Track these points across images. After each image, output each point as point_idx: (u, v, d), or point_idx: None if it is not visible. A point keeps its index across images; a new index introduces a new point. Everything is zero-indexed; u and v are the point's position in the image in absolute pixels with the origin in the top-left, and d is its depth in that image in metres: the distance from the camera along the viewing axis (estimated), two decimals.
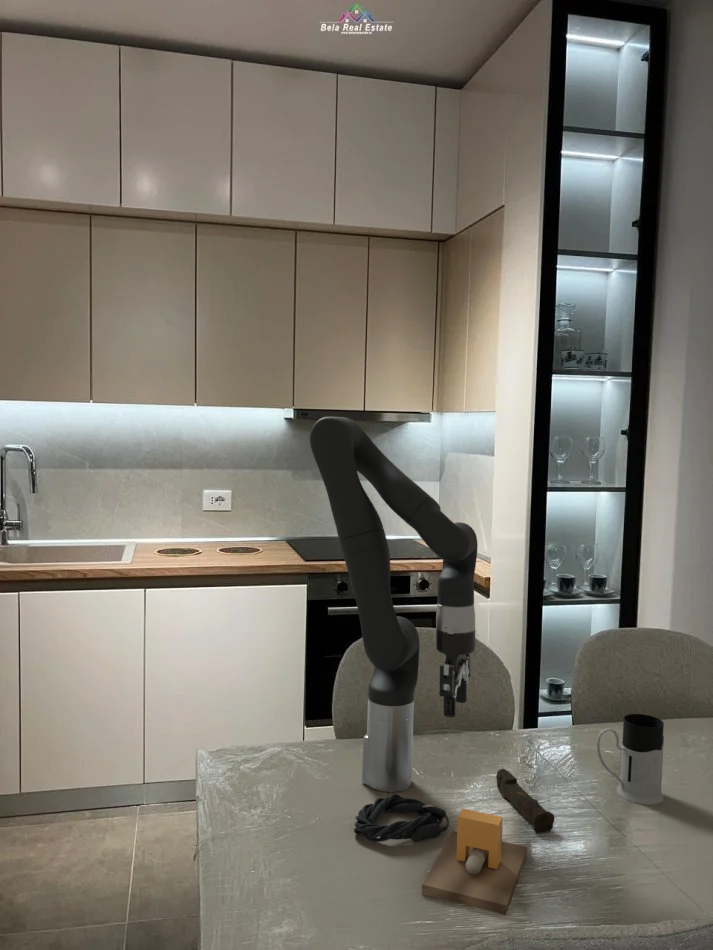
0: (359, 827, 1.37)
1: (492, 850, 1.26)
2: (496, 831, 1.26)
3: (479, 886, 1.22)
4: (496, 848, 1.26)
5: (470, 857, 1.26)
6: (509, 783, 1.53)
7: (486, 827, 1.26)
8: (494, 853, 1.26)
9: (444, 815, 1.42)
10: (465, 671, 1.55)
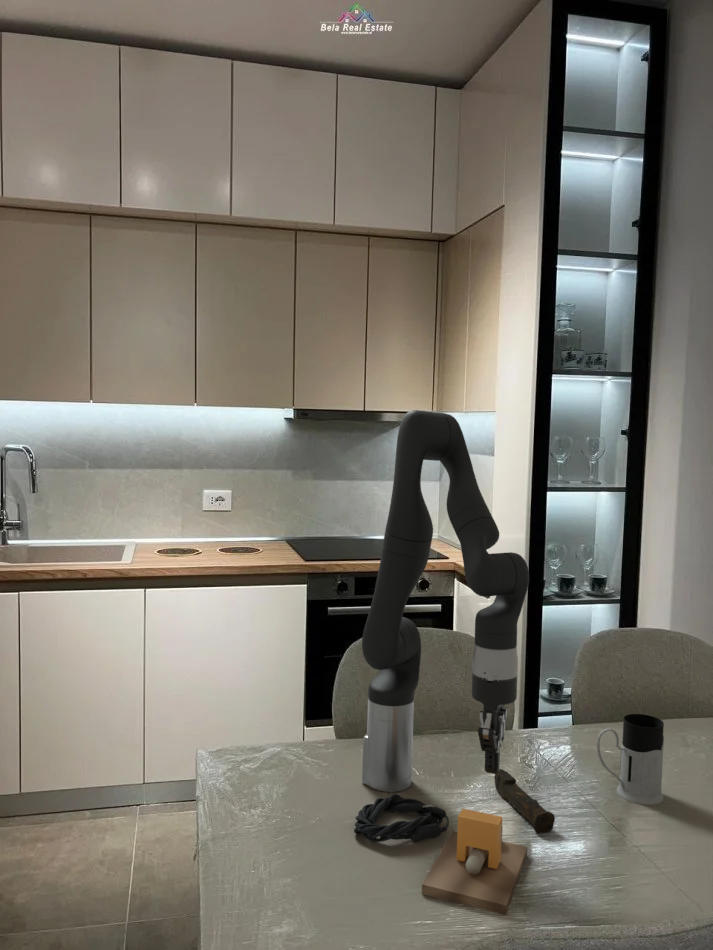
0: (359, 827, 1.37)
1: (492, 850, 1.26)
2: (496, 831, 1.26)
3: (479, 886, 1.22)
4: (496, 848, 1.26)
5: (470, 857, 1.26)
6: (508, 784, 1.53)
7: (486, 827, 1.26)
8: (494, 853, 1.26)
9: (444, 815, 1.42)
10: (502, 724, 1.34)
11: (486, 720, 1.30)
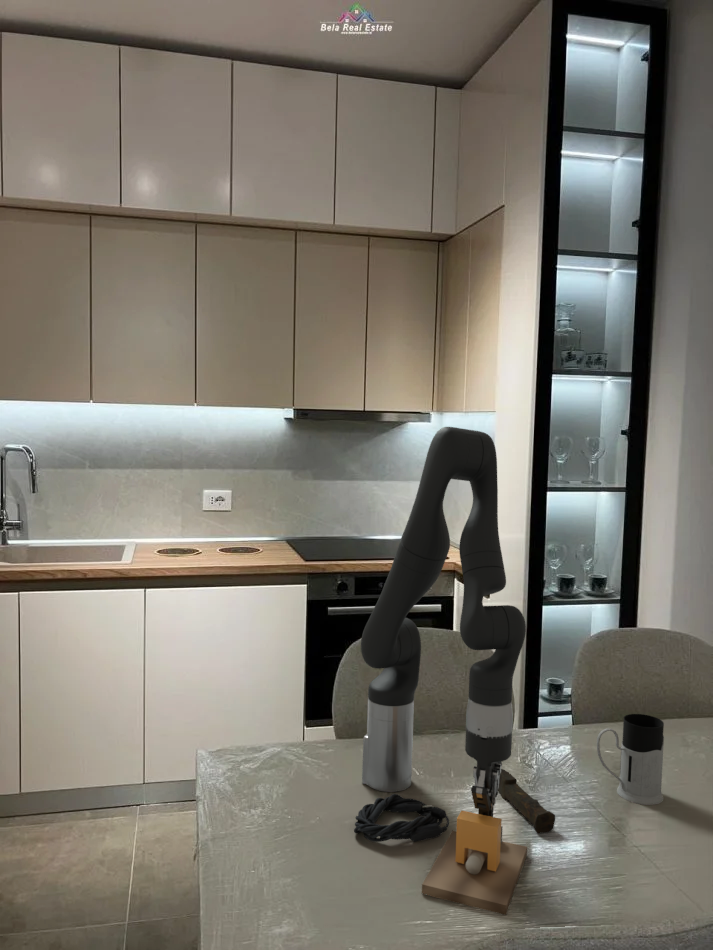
0: (359, 827, 1.37)
1: (491, 852, 1.26)
2: (495, 833, 1.25)
3: (479, 886, 1.22)
4: (495, 850, 1.25)
5: (470, 857, 1.26)
6: (509, 784, 1.53)
7: (485, 829, 1.26)
8: (493, 855, 1.25)
9: (444, 815, 1.42)
10: (496, 780, 1.31)
11: (480, 778, 1.27)
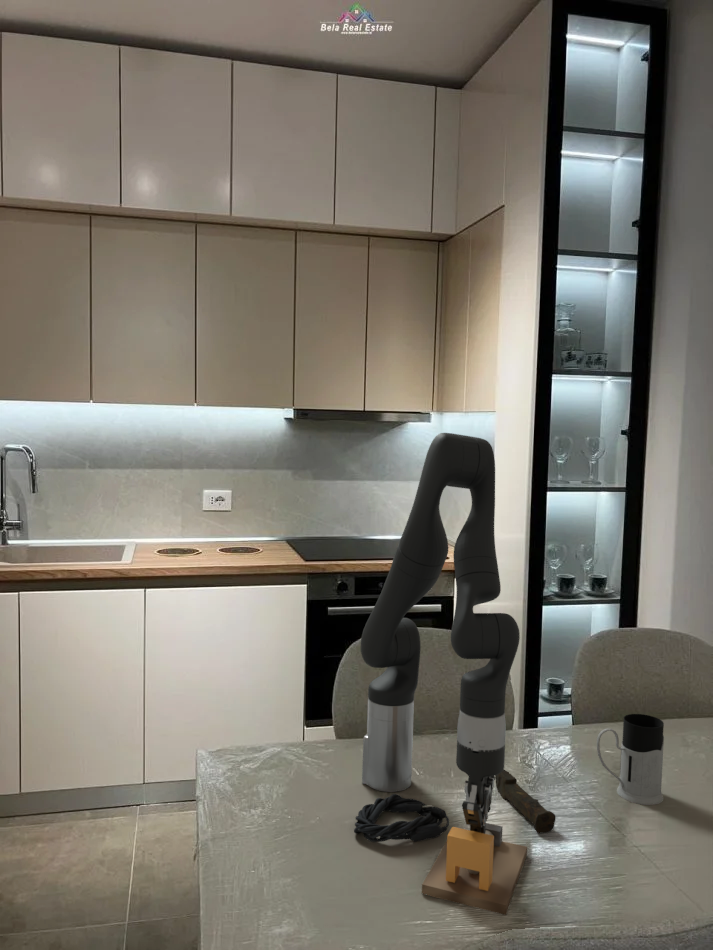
0: (359, 827, 1.37)
1: (483, 871, 1.20)
2: (487, 851, 1.20)
3: None
4: (487, 869, 1.20)
5: None
6: (509, 783, 1.53)
7: (476, 847, 1.20)
8: (485, 874, 1.20)
9: (444, 815, 1.42)
10: (488, 795, 1.26)
11: (471, 793, 1.21)
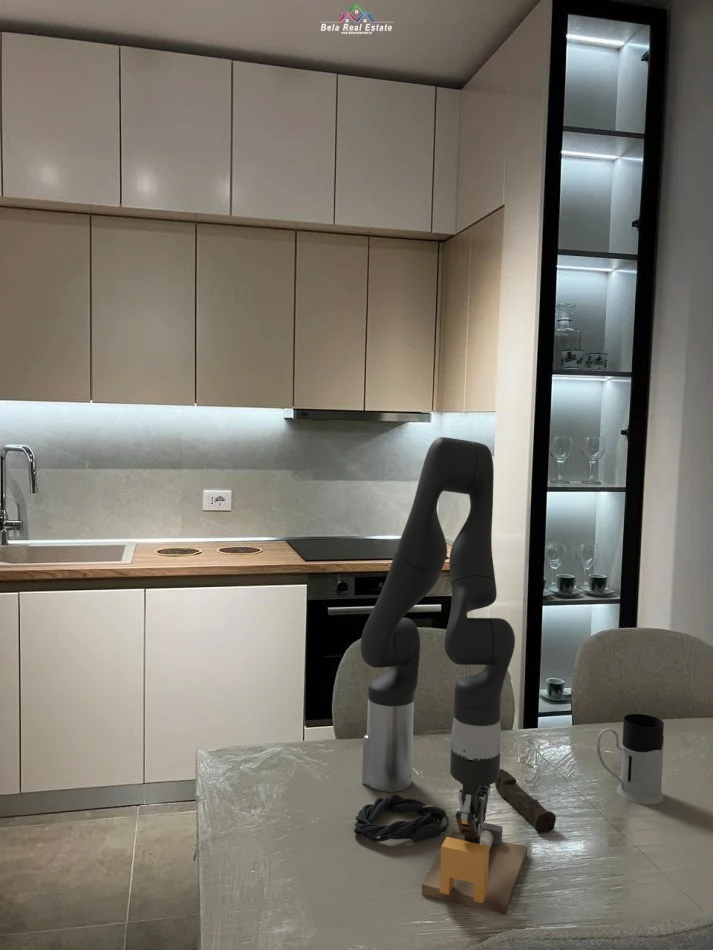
0: (359, 827, 1.37)
1: (478, 883, 1.17)
2: (482, 862, 1.17)
3: None
4: (482, 881, 1.17)
5: None
6: (509, 784, 1.53)
7: (471, 858, 1.17)
8: (480, 886, 1.17)
9: (444, 815, 1.42)
10: (483, 805, 1.22)
11: (465, 803, 1.18)
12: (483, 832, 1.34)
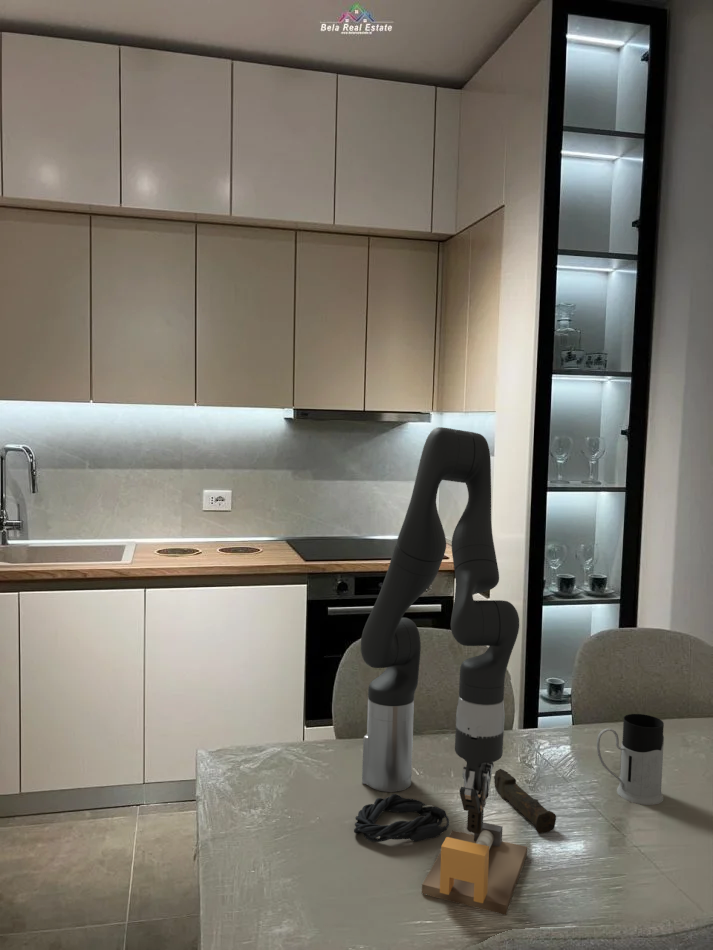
0: (359, 827, 1.37)
1: (478, 883, 1.17)
2: (482, 862, 1.17)
3: None
4: (482, 881, 1.17)
5: None
6: (508, 784, 1.53)
7: (471, 858, 1.17)
8: (480, 886, 1.17)
9: (444, 815, 1.42)
10: (486, 782, 1.26)
11: (469, 779, 1.22)
12: (483, 832, 1.34)
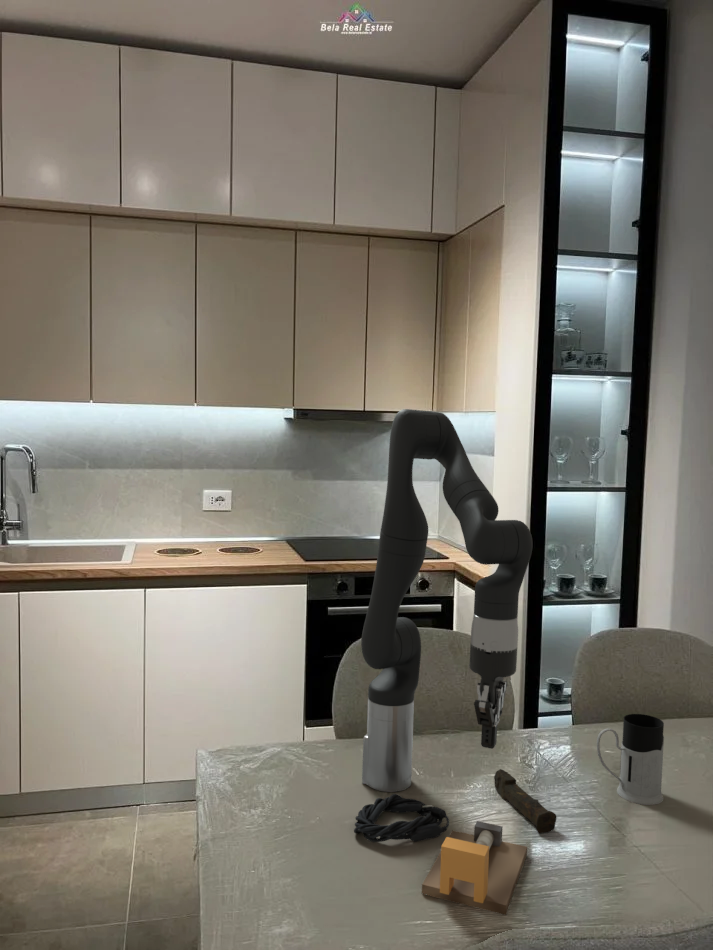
0: (359, 827, 1.37)
1: (478, 883, 1.17)
2: (482, 862, 1.17)
3: None
4: (482, 881, 1.17)
5: None
6: (508, 784, 1.53)
7: (471, 858, 1.17)
8: (480, 886, 1.17)
9: (444, 815, 1.42)
10: (500, 698, 1.29)
11: (483, 692, 1.25)
12: (483, 832, 1.34)
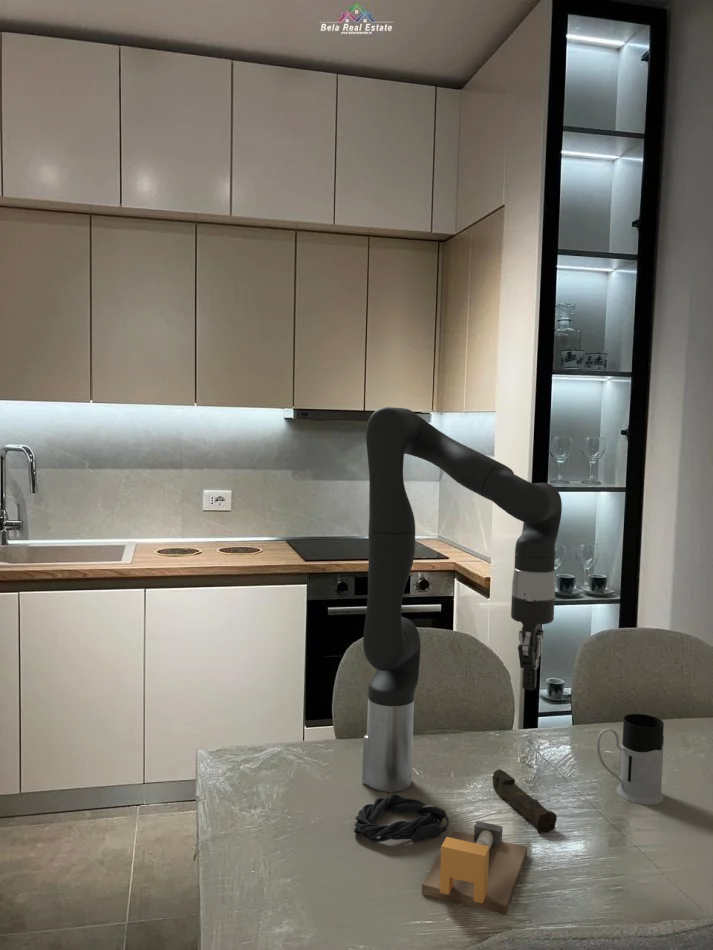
0: (359, 827, 1.37)
1: (478, 883, 1.17)
2: (482, 862, 1.17)
3: None
4: (482, 881, 1.17)
5: None
6: (507, 784, 1.53)
7: (471, 858, 1.17)
8: (480, 886, 1.17)
9: (444, 815, 1.42)
10: (539, 644, 1.43)
11: (525, 638, 1.39)
12: (483, 832, 1.34)
